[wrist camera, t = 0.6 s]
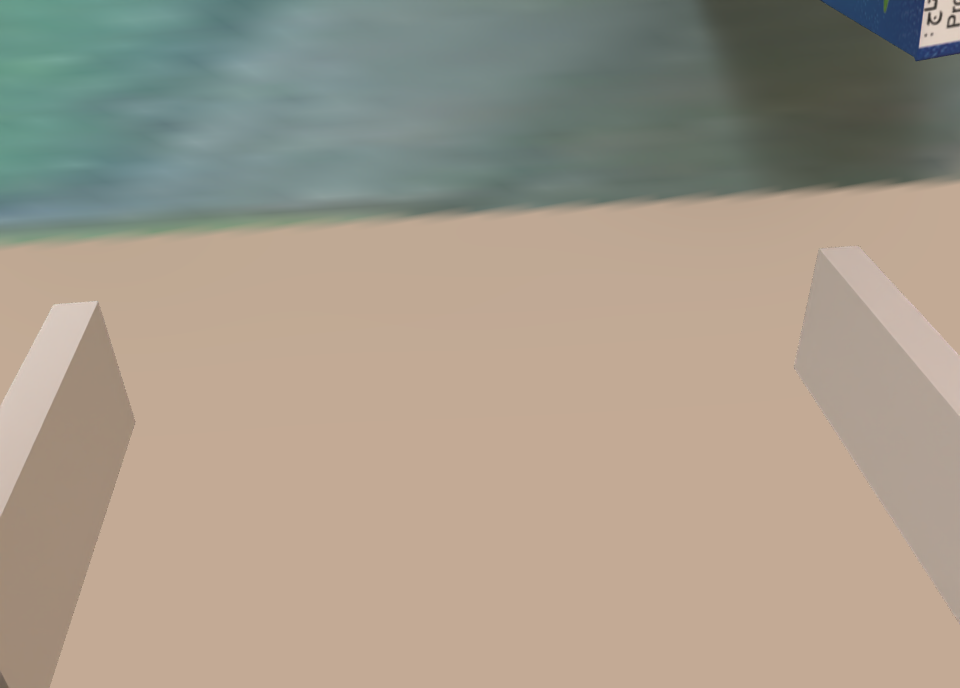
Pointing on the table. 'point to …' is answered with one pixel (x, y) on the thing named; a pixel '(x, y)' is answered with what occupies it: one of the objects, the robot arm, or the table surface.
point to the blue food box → (909, 23)
